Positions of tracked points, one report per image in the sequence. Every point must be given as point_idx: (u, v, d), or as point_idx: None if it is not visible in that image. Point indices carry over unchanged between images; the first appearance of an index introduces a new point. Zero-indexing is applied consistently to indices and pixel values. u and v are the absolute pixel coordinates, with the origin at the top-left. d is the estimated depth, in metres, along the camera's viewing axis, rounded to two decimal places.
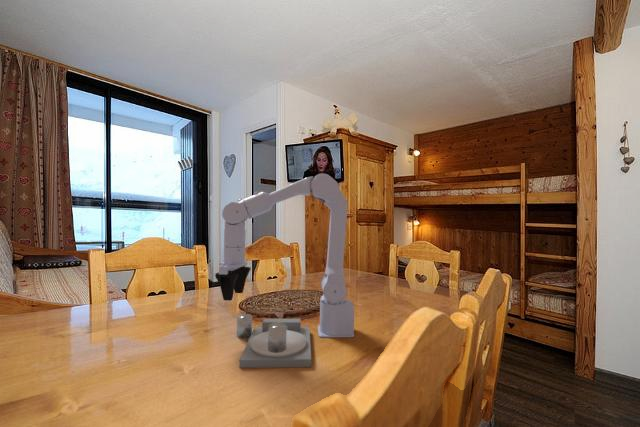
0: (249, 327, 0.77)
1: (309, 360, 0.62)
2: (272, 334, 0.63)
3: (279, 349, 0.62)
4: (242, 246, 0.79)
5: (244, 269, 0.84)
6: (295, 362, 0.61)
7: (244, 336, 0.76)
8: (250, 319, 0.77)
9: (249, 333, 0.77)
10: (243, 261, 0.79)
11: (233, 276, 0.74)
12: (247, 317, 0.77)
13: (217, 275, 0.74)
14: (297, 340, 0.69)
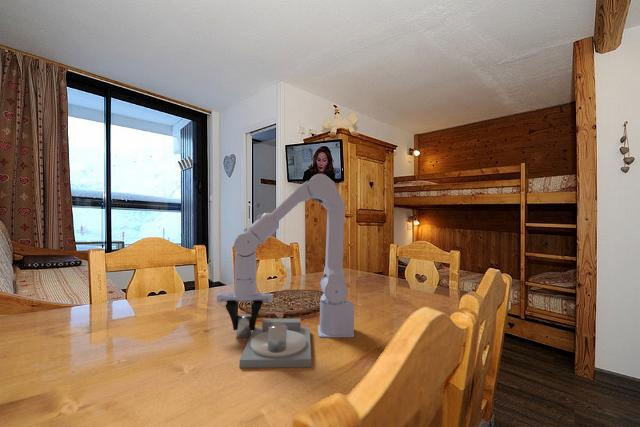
0: (249, 327, 0.77)
1: (309, 360, 0.62)
2: (272, 334, 0.63)
3: (279, 349, 0.62)
4: (254, 278, 0.77)
5: None
6: (295, 362, 0.61)
7: (244, 336, 0.76)
8: (250, 319, 0.77)
9: (249, 333, 0.77)
10: (241, 295, 0.76)
11: (226, 306, 0.76)
12: (247, 317, 0.77)
13: None
14: (297, 340, 0.69)
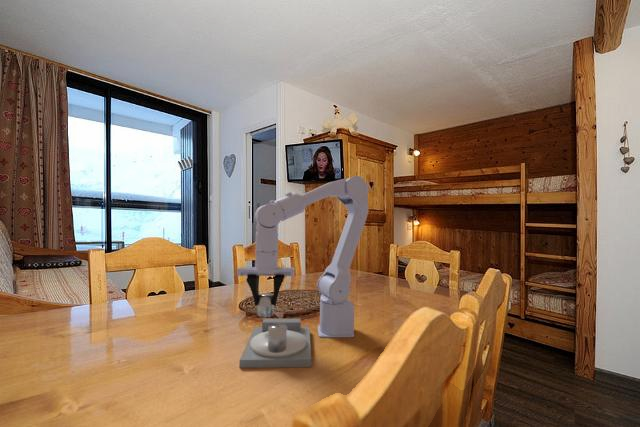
0: (271, 305, 0.74)
1: (309, 360, 0.62)
2: (272, 334, 0.63)
3: (279, 349, 0.62)
4: (277, 250, 0.75)
5: (274, 278, 0.74)
6: (295, 362, 0.61)
7: (266, 315, 0.73)
8: (272, 297, 0.74)
9: (271, 312, 0.74)
10: (263, 268, 0.72)
11: (247, 280, 0.73)
12: (269, 295, 0.74)
13: None
14: (297, 340, 0.69)
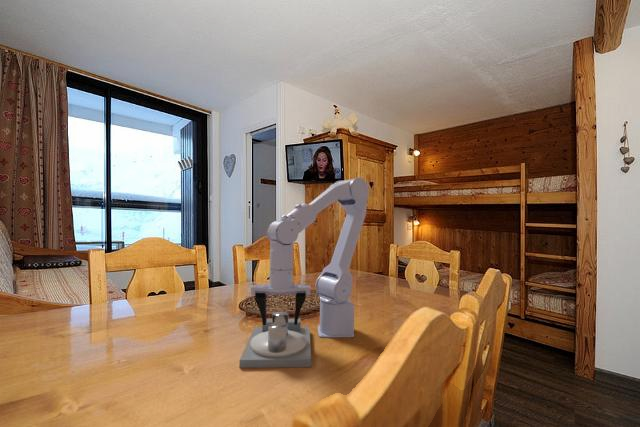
0: None
1: (309, 360, 0.62)
2: (272, 334, 0.63)
3: (279, 349, 0.62)
4: (292, 267, 0.73)
5: None
6: (295, 362, 0.61)
7: None
8: (287, 317, 0.72)
9: (286, 332, 0.72)
10: (278, 286, 0.70)
11: (255, 299, 0.70)
12: (284, 315, 0.72)
13: None
14: (297, 340, 0.69)
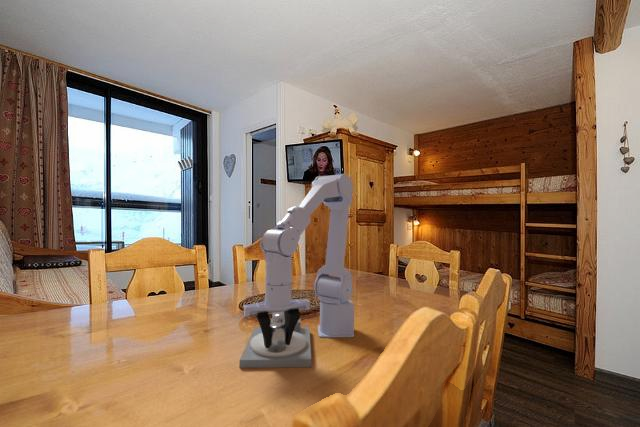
0: None
1: (309, 360, 0.62)
2: (272, 334, 0.63)
3: (279, 349, 0.62)
4: None
5: (289, 315, 0.64)
6: (295, 362, 0.61)
7: None
8: None
9: None
10: (279, 304, 0.62)
11: (259, 320, 0.61)
12: None
13: None
14: (297, 340, 0.69)
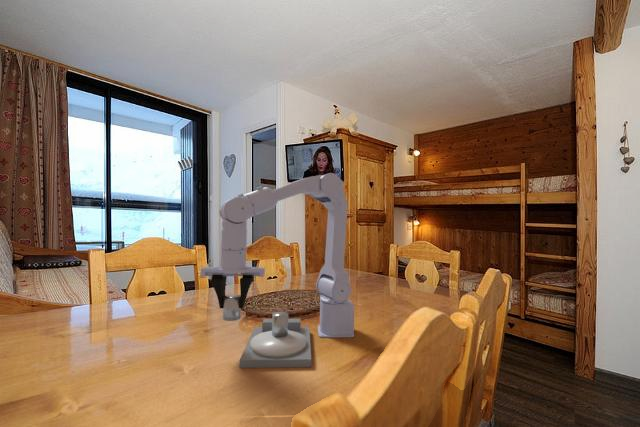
0: (286, 325, 0.71)
1: (309, 360, 0.62)
2: (224, 303, 0.66)
3: (230, 318, 0.66)
4: (245, 248, 0.69)
5: None
6: (295, 362, 0.61)
7: (282, 335, 0.71)
8: (287, 317, 0.72)
9: (286, 332, 0.72)
10: (228, 267, 0.66)
11: (210, 280, 0.66)
12: (284, 315, 0.72)
13: None
14: (297, 340, 0.69)
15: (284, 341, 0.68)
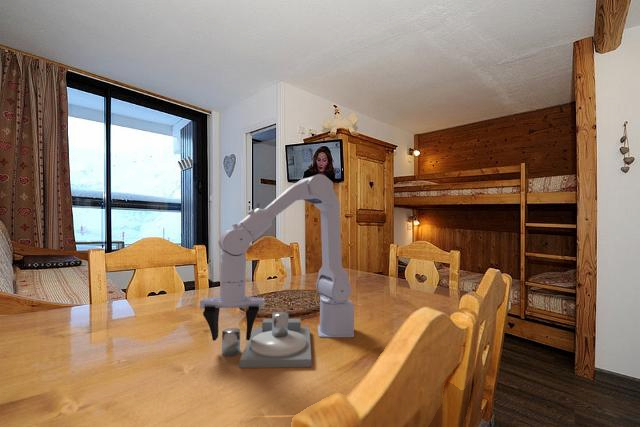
0: (286, 325, 0.71)
1: (309, 360, 0.62)
2: (223, 338, 0.66)
3: (229, 353, 0.66)
4: (245, 279, 0.68)
5: None
6: (295, 362, 0.61)
7: (282, 335, 0.71)
8: (287, 317, 0.72)
9: (286, 332, 0.72)
10: (227, 300, 0.66)
11: (203, 313, 0.66)
12: (284, 315, 0.72)
13: None
14: (297, 340, 0.69)
15: (284, 341, 0.68)
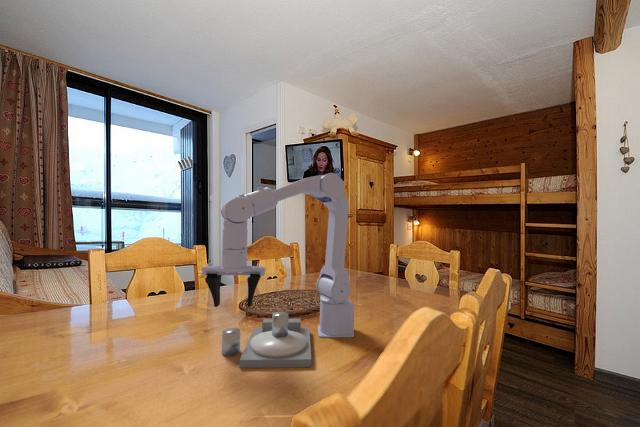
0: (286, 325, 0.71)
1: (309, 360, 0.62)
2: (223, 338, 0.66)
3: (229, 353, 0.66)
4: (246, 247, 0.69)
5: None
6: (295, 362, 0.61)
7: (282, 335, 0.71)
8: (287, 317, 0.72)
9: (286, 332, 0.72)
10: (229, 266, 0.67)
11: (205, 279, 0.67)
12: (284, 315, 0.72)
13: None
14: (297, 340, 0.69)
15: (284, 341, 0.68)
